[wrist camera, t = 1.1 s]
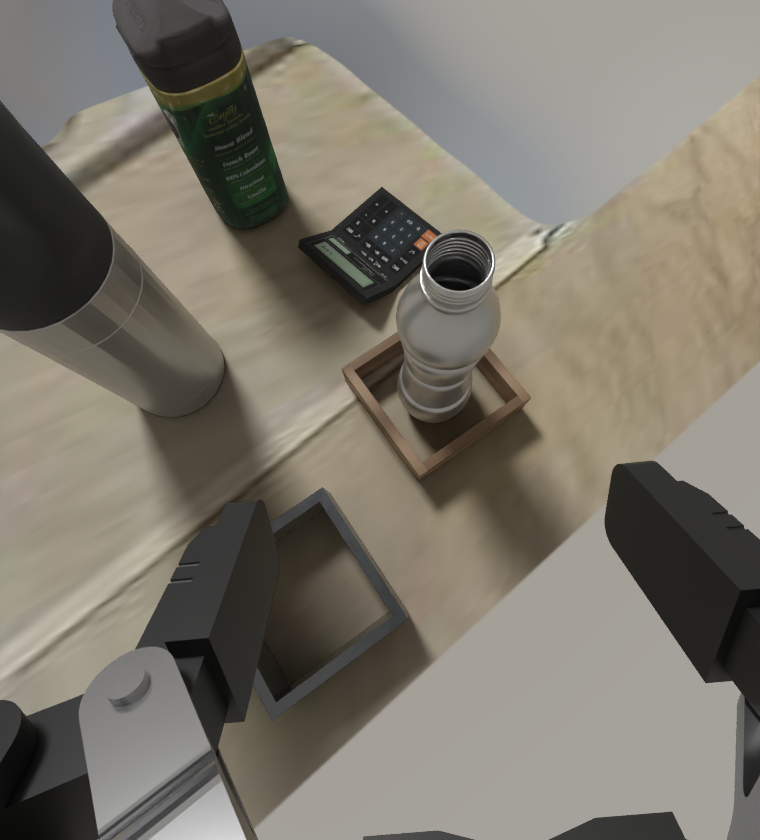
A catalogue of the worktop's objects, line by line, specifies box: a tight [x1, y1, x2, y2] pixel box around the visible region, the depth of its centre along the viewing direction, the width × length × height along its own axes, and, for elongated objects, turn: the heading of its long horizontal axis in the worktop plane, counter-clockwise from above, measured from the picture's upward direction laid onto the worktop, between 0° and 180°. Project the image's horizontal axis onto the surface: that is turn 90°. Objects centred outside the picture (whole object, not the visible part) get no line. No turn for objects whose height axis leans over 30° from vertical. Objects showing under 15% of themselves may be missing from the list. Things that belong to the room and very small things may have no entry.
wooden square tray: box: [342, 332, 531, 482], centre depth 40 cm, size 12×12×3 cm
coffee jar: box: [113, 0, 288, 229], centre depth 40 cm, size 10×8×19 cm
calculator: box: [298, 187, 441, 305], centre depth 45 cm, size 9×12×3 cm
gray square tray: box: [253, 487, 408, 720], centre depth 35 cm, size 12×12×4 cm
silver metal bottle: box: [396, 230, 501, 423], centre depth 32 cm, size 6×7×20 cm
